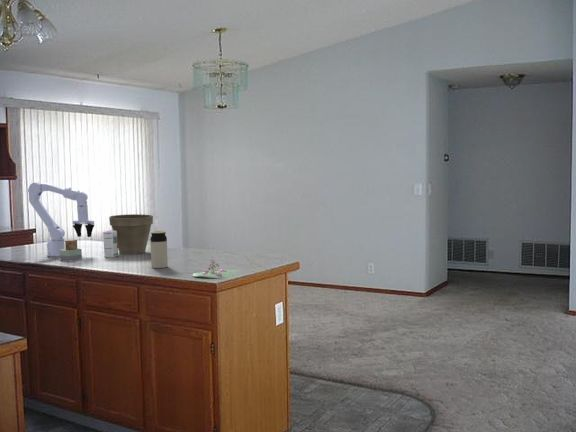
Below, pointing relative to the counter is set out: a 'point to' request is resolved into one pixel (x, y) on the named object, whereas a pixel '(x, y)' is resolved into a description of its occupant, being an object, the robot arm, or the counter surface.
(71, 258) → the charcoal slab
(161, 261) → the travel mug
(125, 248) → the plant pot
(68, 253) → the sage slab
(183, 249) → the counter surface
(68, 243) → the walnut block
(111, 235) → the syrup box
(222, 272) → the plant
